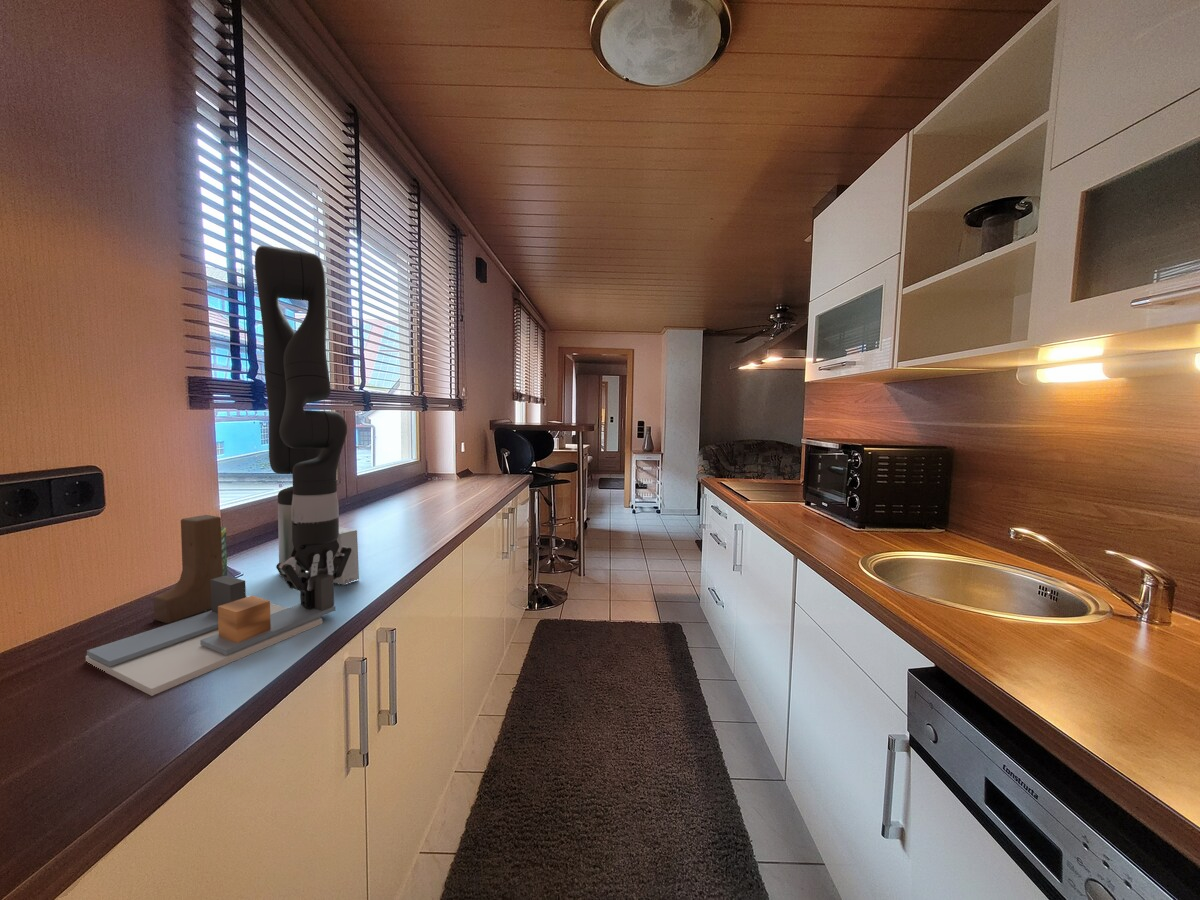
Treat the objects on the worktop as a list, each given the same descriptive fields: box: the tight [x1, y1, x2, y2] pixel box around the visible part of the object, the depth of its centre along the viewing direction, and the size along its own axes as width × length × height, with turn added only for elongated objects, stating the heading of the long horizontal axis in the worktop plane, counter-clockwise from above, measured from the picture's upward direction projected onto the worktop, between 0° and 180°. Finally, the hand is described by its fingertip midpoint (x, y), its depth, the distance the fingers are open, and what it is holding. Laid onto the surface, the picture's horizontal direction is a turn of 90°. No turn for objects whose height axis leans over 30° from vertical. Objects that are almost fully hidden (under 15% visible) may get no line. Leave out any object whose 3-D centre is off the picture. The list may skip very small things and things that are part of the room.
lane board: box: [85, 602, 323, 697], centre depth 75 cm, size 24×19×1 cm
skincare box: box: [333, 526, 360, 585], centre depth 103 cm, size 6×4×12 cm
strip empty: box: [86, 575, 247, 667], centre depth 74 cm, size 18×7×7 cm, turn 157°
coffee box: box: [221, 526, 228, 576], centre depth 95 cm, size 8×3×13 cm, turn 28°
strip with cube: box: [200, 572, 337, 655], centre depth 78 cm, size 18×7×7 cm, turn 157°
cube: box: [218, 595, 271, 643], centre depth 74 cm, size 5×5×5 cm
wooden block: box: [152, 514, 223, 625], centre depth 85 cm, size 9×4×18 cm, turn 160°
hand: (316, 604), depth 86 cm, fingers closed on strip with cube, 2 cm apart
